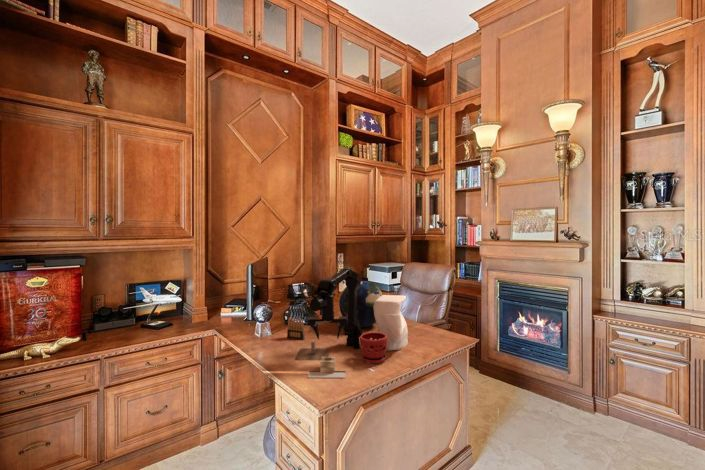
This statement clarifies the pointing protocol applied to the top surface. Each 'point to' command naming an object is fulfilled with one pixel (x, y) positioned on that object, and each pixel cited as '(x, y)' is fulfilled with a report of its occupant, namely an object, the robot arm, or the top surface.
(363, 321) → the globe
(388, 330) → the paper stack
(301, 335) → the ammunition clip
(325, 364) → the collar
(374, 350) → the plant pot
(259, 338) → the top surface
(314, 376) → the mat
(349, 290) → the robot arm
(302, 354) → the post stand
